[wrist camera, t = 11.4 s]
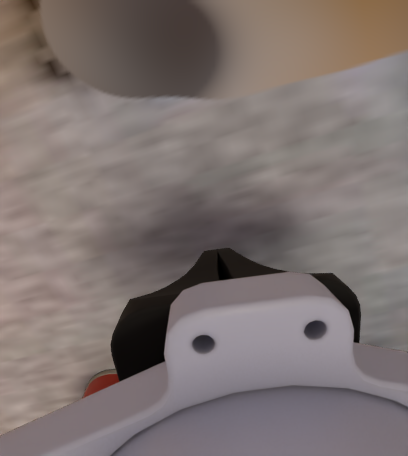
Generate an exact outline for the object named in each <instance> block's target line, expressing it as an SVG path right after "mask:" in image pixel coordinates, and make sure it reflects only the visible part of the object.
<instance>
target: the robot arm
mask: <svg viewBox="0 0 408 456" xmlns="http://www.w3.org/2000/svg"><path fill="white" fill-rule="evenodd" d="M360 321H361V311H360V304H359V301H358V299H357V297H356V295H355V294H354V293H353V292H352V290H351V289H350V288H349V287H348V286H347V285H345V284H344V283H343V282H342V281H341V280H340V279H339V278H337V277H336V276H335V275H334V274H333V273H296V272H288V271H282V270H277V269H273V268H270V267H266V266H263V265H260V264H258V263H256V262H253V261H251V260H249V259H247V258H245V257H243V256H242V255H240V254H238V253H237V252H235V251H234V250H232V249H230V248H224V249H216V250H208V251H204V252H203V253H202V255H201V256H200V258H199V259H198V261H197V262H196V263H195V265H194V266H193V267H192V268H191V269H190V270H189V271H188V272H187V273H186V274H185V275H184V276H182V277H181V278H180V279H179V280H177V281H175V282H174V283H172V284H170V285H169V286H167V287H165V288H163V289H161V290H158V291H156V292H153V293H151V294H148V295H144V296H141V297H137V298H133V299H130V300H129V302H128V304H127V305H126V307H125V309H124V311H123V313H122V315H121V317H120V319H119V321H118V323H117V326H116V328H115V330H114V332H113V336H112V340H111V352H112V357H113V361H114V365H115V368H116V372H117V375H118V379H119V382H118V383H116V384H113V385H111V386H109V387H107V388H105V389H102V390H100V391H98V392H96V393H94V394H91V395H89V396H87V397H85V398H82V399H80V400H78V401H76V402H74V403H71V404H69V405H67V406H65V407H63V408H60V409H58V410H56V411H54V412H51V413H49V414H47V415H45V416H43V417H40V418H38V419H36V420H34V421H32V422H29V423H27V424H25V425H23V426H21V427H18V428H16V429H14V430H12V431H9V432H7V433H5V434H3V435H1V436H0V456H408V352H406V351H400V350H394V349H389V348H383V347H377V346H372V345H366V344H361V343H359V338H360Z"/></svg>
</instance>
